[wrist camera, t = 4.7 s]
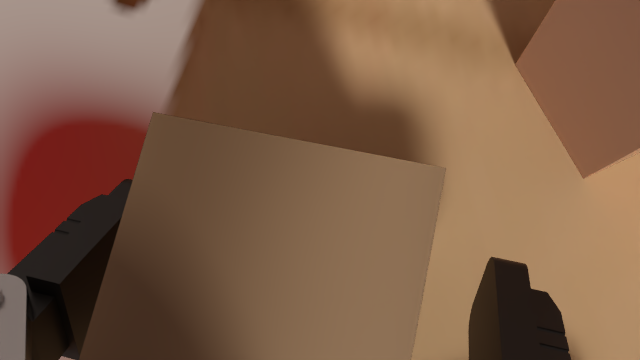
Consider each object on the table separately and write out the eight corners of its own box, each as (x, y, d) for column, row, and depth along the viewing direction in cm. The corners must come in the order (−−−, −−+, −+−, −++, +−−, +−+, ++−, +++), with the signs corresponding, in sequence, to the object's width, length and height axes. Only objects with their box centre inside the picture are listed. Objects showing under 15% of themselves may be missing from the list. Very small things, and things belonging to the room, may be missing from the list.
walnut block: (404, 238, 17) (446, 168, 7) (377, 378, 16) (383, 508, 6) (274, 211, 18) (153, 112, 8) (242, 344, 17) (61, 415, 7)
